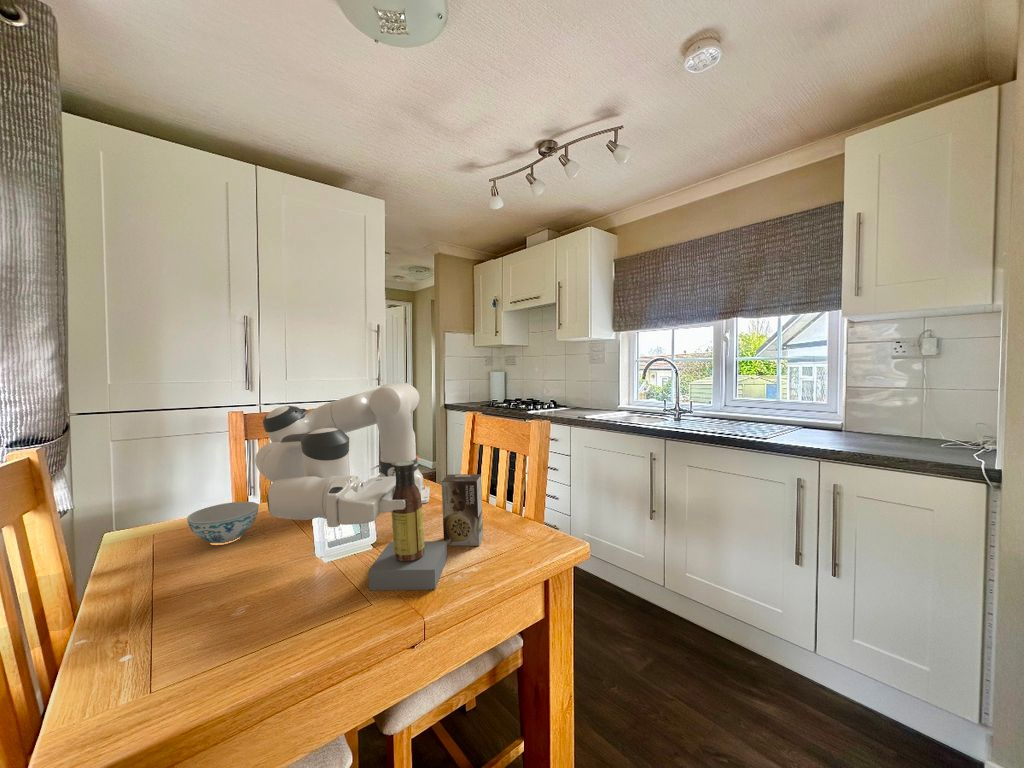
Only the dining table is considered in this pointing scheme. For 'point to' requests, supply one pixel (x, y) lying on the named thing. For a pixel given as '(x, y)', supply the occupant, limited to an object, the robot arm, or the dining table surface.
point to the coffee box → (462, 509)
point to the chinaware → (223, 521)
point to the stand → (409, 569)
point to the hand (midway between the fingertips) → (411, 496)
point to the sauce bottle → (407, 515)
